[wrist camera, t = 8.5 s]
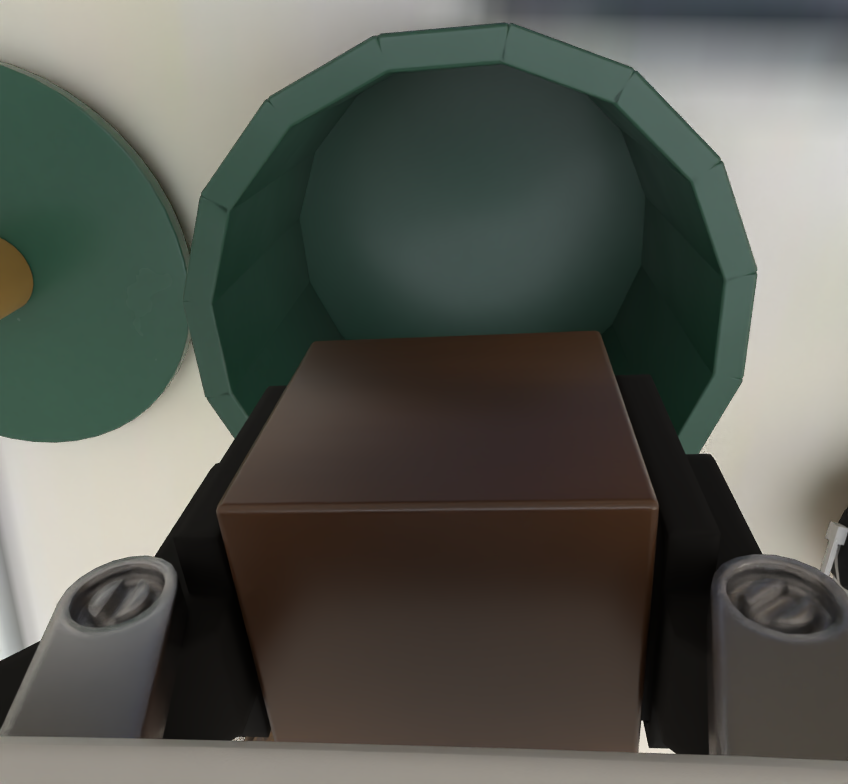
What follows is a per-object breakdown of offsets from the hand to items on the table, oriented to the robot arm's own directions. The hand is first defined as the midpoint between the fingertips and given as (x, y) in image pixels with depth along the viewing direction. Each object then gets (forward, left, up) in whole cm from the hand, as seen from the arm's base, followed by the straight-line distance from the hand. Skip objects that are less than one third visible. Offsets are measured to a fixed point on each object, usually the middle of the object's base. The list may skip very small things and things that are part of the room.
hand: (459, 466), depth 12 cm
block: (0, 0, 0) cm, 0 cm away
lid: (-17, 0, -14) cm, 22 cm away
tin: (0, 0, -14) cm, 14 cm away
